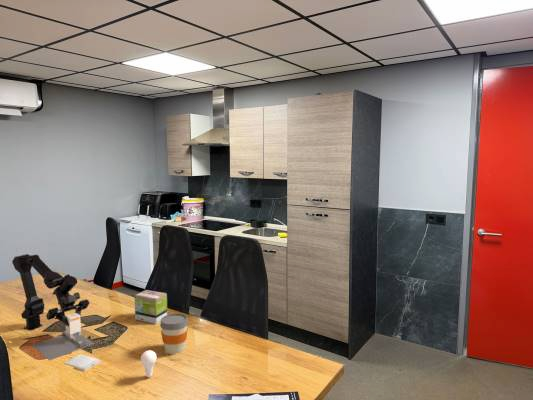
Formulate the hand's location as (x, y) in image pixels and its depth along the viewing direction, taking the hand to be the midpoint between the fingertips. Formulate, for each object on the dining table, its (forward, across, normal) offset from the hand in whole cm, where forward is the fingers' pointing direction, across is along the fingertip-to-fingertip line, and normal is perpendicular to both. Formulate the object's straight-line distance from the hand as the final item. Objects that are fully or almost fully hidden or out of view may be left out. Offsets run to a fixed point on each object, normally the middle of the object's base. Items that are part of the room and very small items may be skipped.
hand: (74, 324), depth 179 cm
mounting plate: (+6, -5, +7) cm, 11 cm away
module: (+3, 0, +5) cm, 6 cm away
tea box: (+10, +40, +3) cm, 41 cm away
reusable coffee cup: (+37, +27, -24) cm, 52 cm away
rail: (+5, 0, +7) cm, 9 cm away
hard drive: (+23, -6, -9) cm, 25 cm away
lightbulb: (+45, +6, -32) cm, 55 cm away
